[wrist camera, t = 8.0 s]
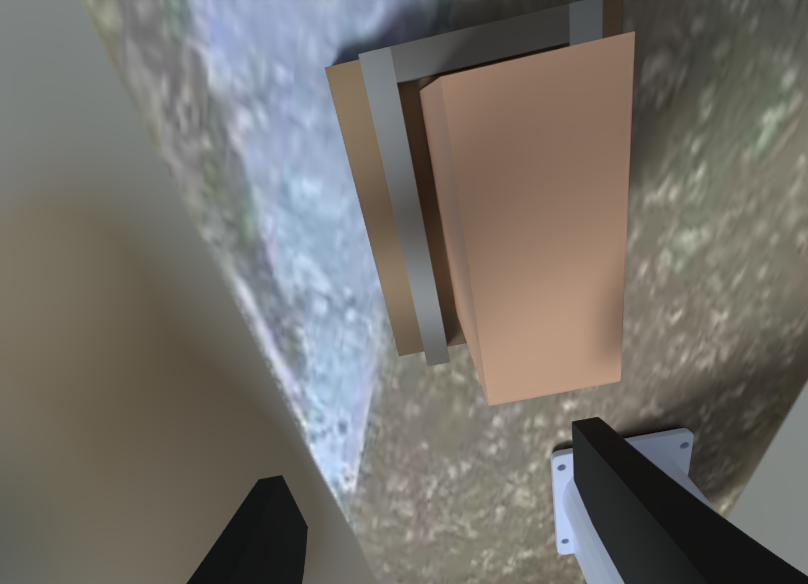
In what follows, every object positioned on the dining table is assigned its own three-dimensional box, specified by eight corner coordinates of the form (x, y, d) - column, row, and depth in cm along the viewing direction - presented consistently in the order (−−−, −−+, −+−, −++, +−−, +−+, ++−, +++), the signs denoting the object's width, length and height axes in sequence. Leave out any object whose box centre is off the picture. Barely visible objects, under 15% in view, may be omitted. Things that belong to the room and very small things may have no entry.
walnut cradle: (602, 303, 18) (628, 327, 16) (398, 344, 19) (400, 371, 17) (606, 4, 13) (645, -15, 11) (328, 70, 14) (319, 63, 12)
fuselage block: (545, 295, 17) (620, 381, 12) (456, 313, 17) (488, 405, 12) (532, 64, 13) (635, 31, 8) (418, 91, 13) (440, 77, 8)
